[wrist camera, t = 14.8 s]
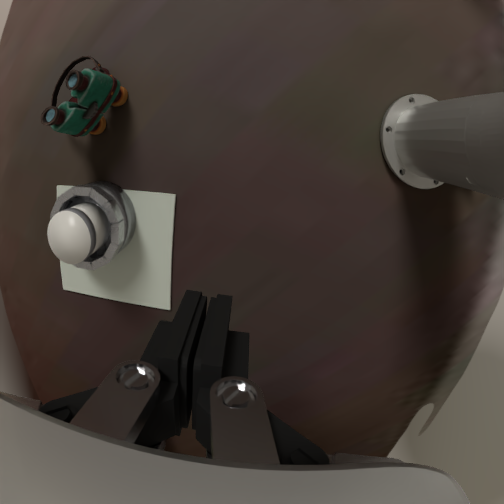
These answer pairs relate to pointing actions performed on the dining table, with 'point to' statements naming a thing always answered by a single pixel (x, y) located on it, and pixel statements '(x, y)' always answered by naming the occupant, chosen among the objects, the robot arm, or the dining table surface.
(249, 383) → the robot arm
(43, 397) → the dining table surface
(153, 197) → the mat
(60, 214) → the cap
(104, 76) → the binoculars
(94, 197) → the grey ring
